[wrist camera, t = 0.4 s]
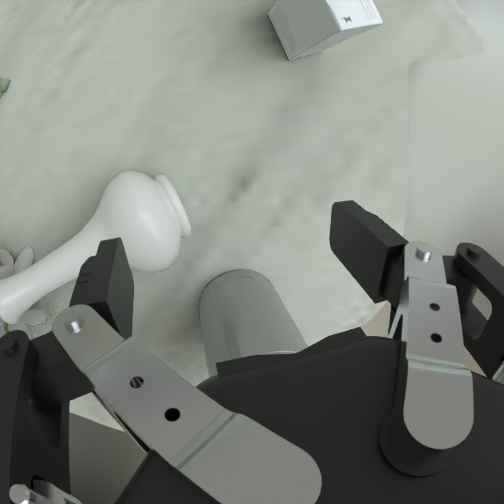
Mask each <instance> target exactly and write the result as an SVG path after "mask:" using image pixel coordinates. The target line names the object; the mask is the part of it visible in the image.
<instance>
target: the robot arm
mask: <svg viewBox="0 0 504 504" xmlns="http://www.w3.org/2000/svg"><path fill="white" fill-rule="evenodd" d="M329 240H330V246H331V249H332V251H333V253H334V254H335V255H336V257H337V258H338V259H339V260H340V261H341V263H342V264H343V265H344V266H345V267H346V269H347V270H348V271H349V272H350V273H351V275H352V276H353V277H354V278H355V279H356V281H357V282H358V283H359V284H360V286H361V287H362V288H363V289H364V291H365V292H366V293H367V294H368V295H369V297H370V298H371V299H372V300H373V302H374V303H375V304H376V303H379V302H382V301H386V300H388V301H389V302H390V307H389V310H388V319H387V328H386V335H385V337H379V336H366V335H365V333H364V332H363V330H362V329H361V327H358V328H355V329H351V330H348V331H345V332H341V333H338V334H334V335H331V336H328V337H326V338H324V339H322V340H320V341H319V342H317V343H315V344H313V345H311V346H309V347H308V346H307V344H306V342H305V340H304V339H303V337H302V335H301V334H300V332H299V330H298V328H297V327H296V325H295V323H294V322H293V320H292V318H291V316H290V315H289V313H288V311H287V309H286V308H285V306H284V304H283V302H282V301H281V299H280V297H279V295H278V294H277V292H276V290H275V289H274V287H273V286H272V284H271V283H270V281H269V280H267V279H266V278H265V277H264V276H262V275H260V274H258V273H256V272H252V271H248V270H236V271H230V272H227V273H225V274H222V275H220V276H219V277H217V278H215V279H214V280H213V281H212V282H210V283H209V284H208V285H207V287H206V288H205V289H204V291H203V293H202V295H201V297H200V302H199V315H200V321H201V328H202V336H203V342H204V348H205V354H206V360H207V366H208V372H209V378H208V379H207V380H205V381H203V382H202V383H200V384H199V385H198V386H196V387H195V386H193V385H192V384H191V383H189V382H188V381H187V380H185V379H184V378H183V377H181V376H180V375H179V374H178V373H176V372H175V371H174V370H172V369H171V368H170V367H169V366H167V365H166V364H165V363H164V362H163V361H161V360H160V359H159V358H158V357H156V356H155V355H154V354H153V353H152V352H150V351H149V350H148V349H147V348H146V347H144V346H143V345H142V344H141V343H140V342H139V341H137V340H136V339H135V338H133V337H132V316H133V298H134V282H133V277H132V273H131V269H130V266H129V263H128V259H127V256H126V252H125V249H124V245H123V242H122V239H121V238H120V237H117V238H112V239H107V240H102V241H100V243H99V246H98V250H97V253H96V255H95V256H90V257H89V258H88V259H87V260H86V261H85V262H84V263H83V264H82V266H81V268H80V272H79V277H78V278H77V281H76V285H75V288H74V291H73V294H72V298H71V301H70V305H69V308H67V309H65V310H63V311H62V312H61V313H60V314H59V315H58V316H57V317H56V318H55V320H54V322H53V325H52V330H53V331H51V332H49V333H47V334H45V335H42V336H40V337H37V338H35V339H32V340H30V338H29V337H28V335H27V333H26V332H24V331H22V330H13V331H10V332H8V333H6V334H5V335H3V336H2V337H1V338H0V504H82V503H81V502H80V501H79V500H77V499H76V498H74V497H73V496H71V490H70V474H69V403H70V400H73V399H75V398H78V397H80V396H83V395H85V394H88V393H90V392H92V393H93V395H94V396H95V397H96V398H97V399H98V401H99V402H100V403H101V404H102V405H103V407H104V408H105V409H106V410H107V411H108V412H109V414H110V415H111V416H112V417H113V418H114V419H115V420H116V421H117V423H118V424H119V425H120V426H121V427H122V428H123V429H124V430H125V431H126V433H128V435H129V436H130V437H131V438H132V439H133V440H134V441H135V442H136V444H137V445H139V447H140V448H141V449H142V450H143V451H144V452H145V453H146V454H147V455H146V457H145V458H144V460H143V462H142V463H141V464H140V466H139V467H138V469H137V470H136V472H135V474H134V475H133V477H132V478H131V480H130V481H129V483H128V484H127V486H126V487H125V489H124V490H123V492H122V493H121V495H120V496H119V497H118V499H117V500H116V502H115V503H114V504H504V267H503V266H502V265H501V264H500V263H498V262H497V261H496V260H495V259H494V258H493V257H492V256H491V255H489V254H488V253H487V252H486V251H485V250H484V249H482V248H481V247H479V246H477V245H475V244H471V243H460V244H459V245H458V246H457V249H456V252H455V255H454V256H442V254H441V253H440V251H439V250H438V249H437V248H435V247H434V246H432V245H430V244H427V243H423V242H411V243H409V242H408V241H407V240H406V239H404V238H403V237H402V236H401V235H400V234H398V233H397V232H396V231H395V230H394V229H392V228H390V226H389V225H388V224H386V223H384V221H383V220H382V219H380V218H379V217H378V216H377V215H375V214H372V213H370V212H368V211H366V210H364V209H363V208H362V207H361V206H360V205H358V204H357V203H356V202H354V201H353V200H350V201H342V202H335V203H334V204H333V206H332V213H331V226H330V238H329ZM477 289H479V290H480V291H481V292H482V293H483V294H484V295H485V296H486V297H487V298H488V299H489V300H490V302H491V304H492V314H491V316H490V318H489V320H487V319H486V318H485V317H484V316H483V315H482V313H481V312H480V311H479V310H478V309H477V308H476V307H475V306H474V305H473V303H472V300H473V298H474V296H475V293H476V291H477ZM464 346H465V347H466V349H467V350H468V351H469V353H470V354H471V355H472V357H473V358H474V359H475V361H476V362H477V363H478V365H479V366H480V368H481V369H482V370H483V372H484V373H485V374H486V376H487V377H488V378H487V377H485V376H482V375H480V374H477V373H475V372H473V371H470V370H469V369H467V368H466V366H465V358H464V357H465V356H464Z"/></svg>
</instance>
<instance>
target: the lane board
mask: <svg viewBox="0 0 504 504" xmlns="http://www.w3.org/2000/svg"><path fill="white" fill-rule="evenodd" d="M10 81H11V80H8V79H4V78H0V97H1V94H2V91H7V89H8V86H9V84H10Z"/></svg>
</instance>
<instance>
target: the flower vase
mask: <svg viewBox="0 0 504 504" xmlns="http://www.w3.org/2000/svg"><path fill="white" fill-rule="evenodd" d="M190 235H191V227H190V223H189V220H188V217H187V214H186V212H185V209H184V207H183V205H182V203H181V201H180V199H179V197H178V194H177V193H176V191H175V189H174V187H173V186H172V184H171V183H170V181H169V180H168V178H167V177H166V176H165V175H164V174H157V175H156V176H155V178H154V179H152V178H151V177H149V176H148V175H146V174H144V173H141V172H137V171H124V172H122V173H120V174H118V175H117V176H116V177H115V178H113V179H112V180H111V181H110V183H109V184H108V185H107V187H106V189H105V191H104V193H103V195H102V197H101V200H100V203H99V205H98V208H97V210H96V212H95V213H94V215H93V216H92V217H91V219H90V220H89V221H88V223H87V224H86V225H85V226H84V227H83V228H82V229H81V230H80V231H79V232H78V233H77V234H76V235H75V236H74V237H72V238H71V239H70V240H68V241H67V242H66V243H64V244H63V245H61V246H60V247H58V248H57V249H55V250H54V251H52V252H51V253H49V254H48V255H46V256H45V257H43V258H42V259H40V260H39V261H37V262H36V263H34V264H33V260H34V251H33V249H32V248H31V247H26V248H24V249H23V250H22V251H21V252H20V254H19V256H18V257H17V260H16V262H15V264H14V260H13V258H12V256H11V254H10V253H9V252H8V251H7V250H6V249H4V248H0V261H1V263H2V265H3V266H2V267H0V323H1V322H2V323H1V326H0V338H1V337H2V336H3V335H5V334H6V333H8V332H10V331H13V330H22V331H24V332H26V333H27V335H28V337H29V338H30V340H32V339H35V338H34V336H33V334H32V332H31V331H30V329H29V328H28V326H27V325H29V326H36V325H40V324H41V323H43V322H44V321H45V320H46V319H47V315H46V313H45V312H44V311H42V310H39V309H29V308H30V307H31V306H32V305H33V304H34V303H36V302H37V301H38V300H40V299H41V298H42V297H44V296H45V295H47V294H49V293H50V292H52V291H54V290H56V289H58V288H59V287H61V286H63V285H65V284H67V283H69V282H71V281H73V280H74V279H76V278H78V277H79V272H80V268H81V266H82V264H83V263H84V262H85V261H86V260H87V259H88V258H89V257H90V256H95V255H96V253H97V250H98V246H99V243H100V241H102V240H107V239H112V238H117V237H120V238H121V239H122V242H123V245H124V249H125V252H126V256H127V259H128V263H129V266H130V269H134V270H137V271H141V272H150V273H153V272H160V271H163V270H166V269H168V268H170V267H171V266H172V265H173V264H174V262H175V261H176V259H177V257H178V255H179V252H180V248H181V238H188V237H189V236H190ZM32 264H33V265H32ZM26 324H27V325H26Z"/></svg>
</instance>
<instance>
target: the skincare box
mask: <svg viewBox="0 0 504 504" xmlns="http://www.w3.org/2000/svg"><path fill="white" fill-rule="evenodd" d="M268 16H269V18H270V20H271V22H272V24H273V26H274V29H275V31H276V33H277V35H278V37H279V39H280V41H281V44H282V46H283V48H284V50H285V53H286V55H287V57H288V59H289V60H290V61H291V60H295V59H298V58H302V57H305V56H309V55H312V54H316V53H319V52H322V51H324V50H326V49H328V48H330V47H332V46H334V45H336V44H338V43H340V42H343V41H345V40H347V39H349V38H351V37H353V36H356V35H358V34H360V33H363V32H365V31H367V30H369V29H371V28H374V27H377V26H379V25H381V24H382V23H383V22H382V20H381V17H380V15H379V13H378V11H377V9H376V7H375V5H374V3H373V1H372V0H277V2H276V3H275V4H274V6H273V7H272V8H271V9H270V11H269V12H268Z"/></svg>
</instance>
